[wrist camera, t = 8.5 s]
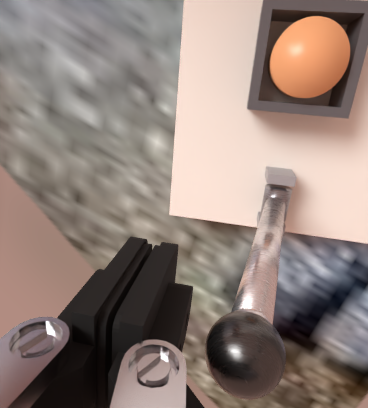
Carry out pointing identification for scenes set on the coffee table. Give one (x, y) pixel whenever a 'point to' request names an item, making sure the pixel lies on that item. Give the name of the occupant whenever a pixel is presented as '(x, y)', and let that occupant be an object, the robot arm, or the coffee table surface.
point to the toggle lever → (253, 313)
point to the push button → (309, 57)
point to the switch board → (269, 121)
